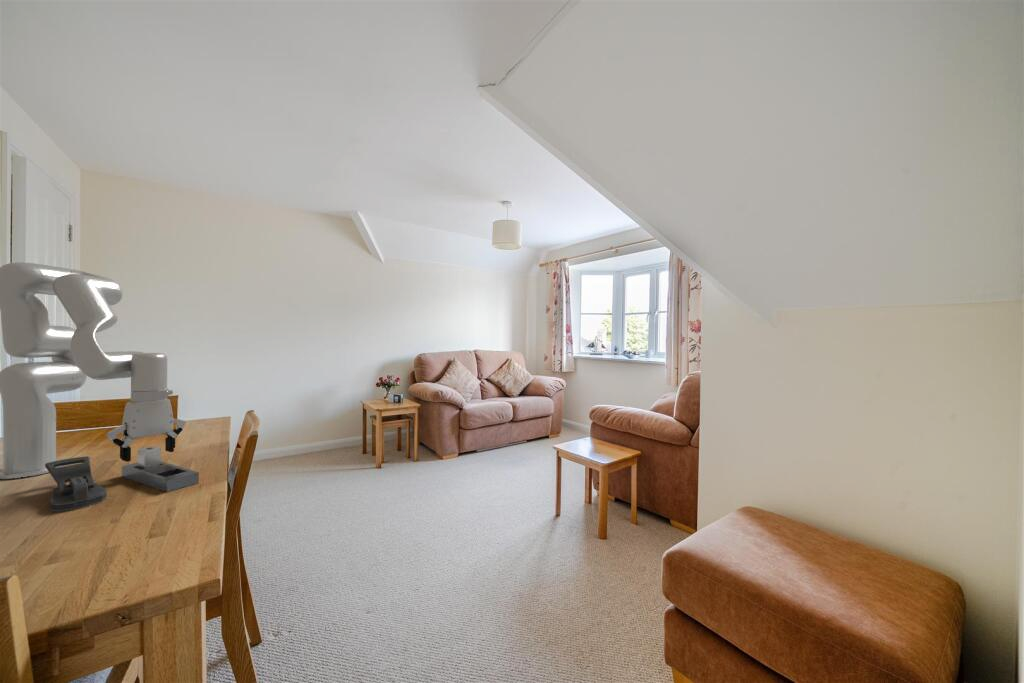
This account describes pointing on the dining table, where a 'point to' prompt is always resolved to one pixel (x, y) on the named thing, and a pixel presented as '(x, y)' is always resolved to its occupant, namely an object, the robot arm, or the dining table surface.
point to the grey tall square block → (149, 457)
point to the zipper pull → (74, 485)
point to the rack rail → (161, 476)
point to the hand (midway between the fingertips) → (148, 455)
